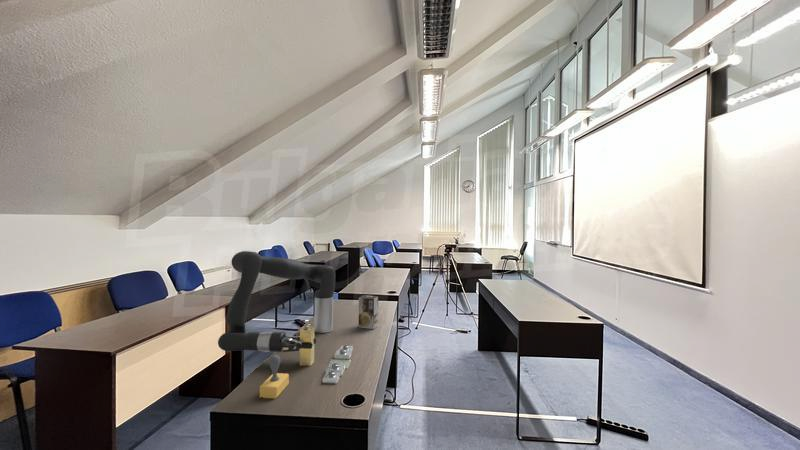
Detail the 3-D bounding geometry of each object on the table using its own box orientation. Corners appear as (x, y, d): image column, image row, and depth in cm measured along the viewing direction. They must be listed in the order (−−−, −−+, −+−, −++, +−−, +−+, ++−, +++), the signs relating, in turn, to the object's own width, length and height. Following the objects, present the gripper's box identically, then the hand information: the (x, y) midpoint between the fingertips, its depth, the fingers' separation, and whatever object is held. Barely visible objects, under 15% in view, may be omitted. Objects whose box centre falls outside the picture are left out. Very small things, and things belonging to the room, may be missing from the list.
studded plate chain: (338, 348, 153) (338, 342, 153) (356, 349, 153) (356, 343, 153) (318, 382, 122) (318, 374, 122) (340, 383, 121) (341, 375, 121)
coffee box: (378, 326, 187) (379, 296, 186) (373, 329, 180) (374, 298, 180) (363, 324, 190) (363, 294, 189) (357, 327, 183) (358, 297, 183)
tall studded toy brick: (303, 360, 140) (303, 323, 140) (314, 360, 140) (314, 323, 140) (299, 365, 136) (300, 326, 135) (310, 365, 136) (311, 327, 135)
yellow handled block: (273, 383, 121) (273, 349, 121) (289, 384, 121) (289, 349, 120) (259, 397, 111) (259, 360, 111) (276, 398, 111) (276, 361, 111)
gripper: (264, 338, 131) (308, 340, 130) (278, 326, 145) (319, 328, 145) (263, 358, 131) (308, 360, 131) (278, 344, 146) (319, 346, 145)
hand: (313, 343), depth 138 cm, fingers closed on tall studded toy brick, 4 cm apart
